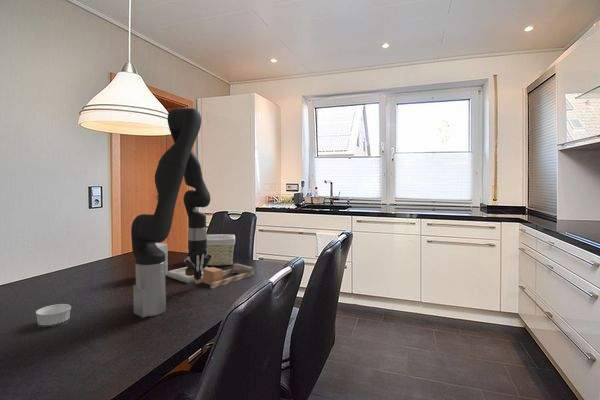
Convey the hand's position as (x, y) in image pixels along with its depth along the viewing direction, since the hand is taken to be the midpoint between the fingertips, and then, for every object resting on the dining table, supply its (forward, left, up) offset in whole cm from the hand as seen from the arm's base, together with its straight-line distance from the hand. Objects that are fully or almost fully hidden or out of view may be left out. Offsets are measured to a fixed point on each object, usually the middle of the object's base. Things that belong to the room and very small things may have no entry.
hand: (197, 279), depth 137 cm
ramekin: (-48, +7, -4) cm, 49 cm away
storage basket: (+30, +28, -4) cm, 42 cm away
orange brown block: (+8, 0, -4) cm, 9 cm away
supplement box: (-3, +29, -4) cm, 29 cm away
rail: (+15, 0, -4) cm, 15 cm away
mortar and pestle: (+9, +16, -3) cm, 18 cm away
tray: (+9, +16, -4) cm, 19 cm away
